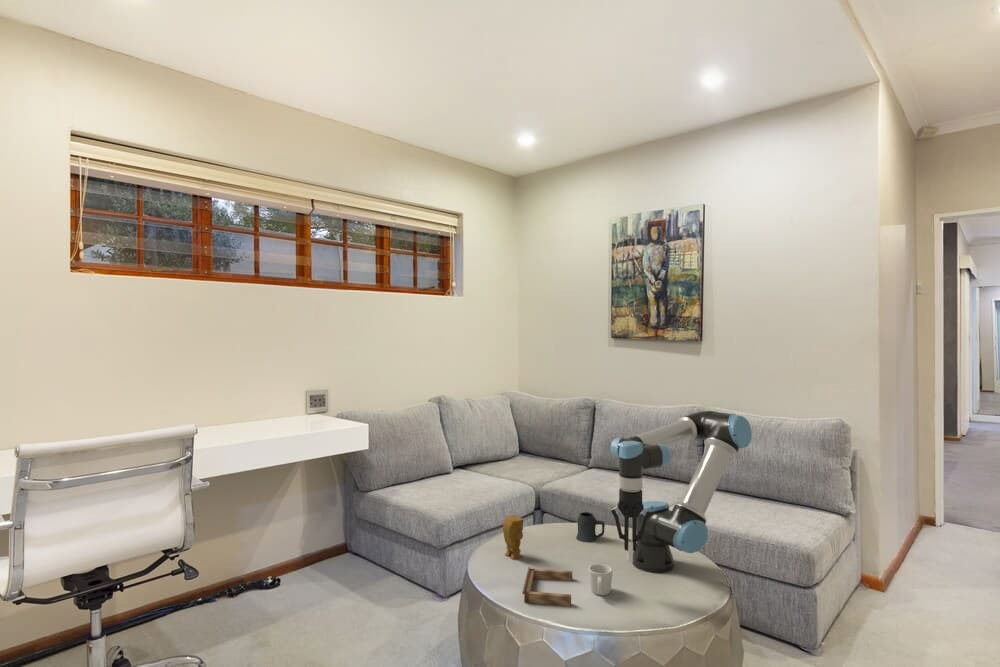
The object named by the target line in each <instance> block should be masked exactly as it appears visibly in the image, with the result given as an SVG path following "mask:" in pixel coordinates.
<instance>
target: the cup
mask: <svg viewBox="0 0 1000 667" xmlns="http://www.w3.org/2000/svg"><path fill="white" fill-rule="evenodd" d="M588 578H589V587H590V591H591V593H593V594H594V595H597V596H607V595H609V594H610V593H611V590H612V581H613V580H612V579H613V569H612V567H611V566H610V565H607V564H602V563H594V564H590V566H589V567H588Z"/></svg>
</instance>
